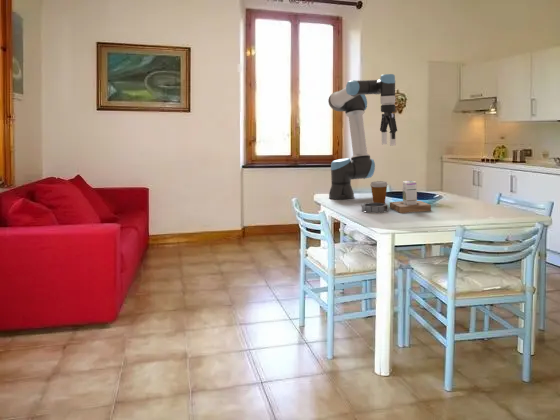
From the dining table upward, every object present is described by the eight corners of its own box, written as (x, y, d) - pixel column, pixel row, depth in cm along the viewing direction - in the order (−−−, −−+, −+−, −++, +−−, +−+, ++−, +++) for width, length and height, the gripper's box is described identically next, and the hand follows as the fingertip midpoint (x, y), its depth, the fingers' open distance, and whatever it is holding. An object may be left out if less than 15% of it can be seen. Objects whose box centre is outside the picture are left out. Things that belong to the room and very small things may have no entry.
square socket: (389, 207, 272) (389, 202, 272) (418, 205, 274) (418, 200, 274) (400, 213, 257) (400, 207, 256) (430, 210, 259) (430, 204, 258)
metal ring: (369, 207, 276) (369, 201, 275) (391, 209, 268) (391, 203, 267) (357, 211, 266) (357, 206, 265) (380, 213, 258) (380, 207, 257)
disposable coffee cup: (387, 205, 280) (387, 183, 278) (370, 205, 282) (369, 183, 280) (387, 202, 289) (387, 181, 287) (370, 202, 291) (370, 181, 289)
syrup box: (417, 209, 263) (417, 181, 260) (406, 210, 262) (405, 182, 260) (413, 207, 268) (413, 180, 266) (402, 208, 268) (402, 181, 265)
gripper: (403, 103, 259) (403, 145, 262) (387, 104, 283) (387, 143, 287) (389, 104, 258) (389, 146, 262) (373, 105, 282) (374, 144, 286)
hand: (388, 144), depth 274 cm, fingers open, 13 cm apart
